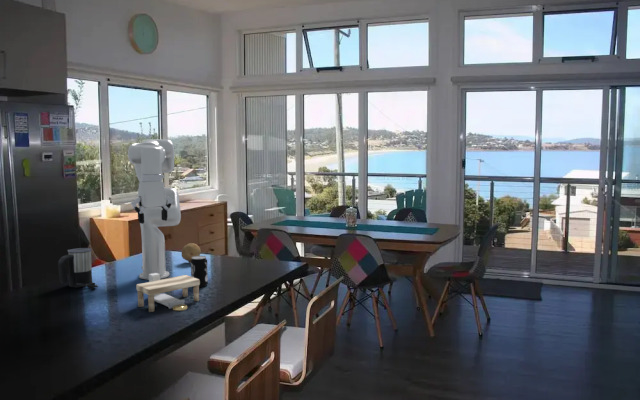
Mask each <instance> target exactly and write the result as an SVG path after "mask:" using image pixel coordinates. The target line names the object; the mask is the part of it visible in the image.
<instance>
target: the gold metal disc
mask: <svg viewBox="0 0 640 400" xmlns="http://www.w3.org/2000/svg"><path fill="white" fill-rule="evenodd" d="M185 310H188V305H187V304H178V305H174V306H173V308H172V311H175V312H182V311H185Z"/></svg>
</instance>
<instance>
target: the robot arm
mask: <svg viewBox="0 0 640 400" xmlns="http://www.w3.org/2000/svg"><path fill="white" fill-rule="evenodd" d="M127 150H128V151H127V158H128V161H129V162H130V164H132V165H134V170H135V175H136V177H137V180H138V183H139V184H138V190H137V197H136V199H135V200H132V201H131V202H130V205H131V207H132V208H133V210H134V211H135V212H136V213H137V221H138V223H139V226H140V232H141V251H142V252H141V253H142V255H141V257H142V265H141V269H142V272H141V273H140V274H139V276H138V277H139V279H142V280H148V281H149V274H153V273H158V274H160V280H162V279H167V278H169V276H170V272H169V271H167V270H166V243H165V241H166V240H165V235H164V233H163V232H162V230H160V229H159V227H161V228H162V227H174V226H178V225H179V224H180V223H181V220H182V219H181V218H182V215H181V214H182V213H181V204H180V196H179V192H178V190H177V189H176V188H174V187H165V183H164V181H163V179H165V174H169V173H172V172H173V171H174V169H175V147H174V143H173V142H172V140H170V139H164V138H163V139H157V138H156V139H154V138H153V139H146V140H143V141H142V142H138V143H132V144H130V145H129V147H128V149H127Z"/></svg>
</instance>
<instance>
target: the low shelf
mask: <svg viewBox="0 0 640 400" xmlns="http://www.w3.org/2000/svg"><path fill="white" fill-rule="evenodd" d="M199 285H200V280H199V279H196V278H194V277H191V275H187V274H183V275H177V276H173V277H166V278H162V279H160V280H157V281H152V282H149V281H148V282H142V283H137V284H135V286H136V288H135V289H136V291H137V307H138V308H142V307H145V302H144V301H145V300H144V297H145V296H144V294H145V295H147V300H148V301H147V303H148V308H147V309H148V313H154V312H156V311H155V301H154V295H155V294H160V293H161V294H165V293H168V292H172V291H177V290H182V297H183V298H185V297H186V298H187V297H188V295H189V288H192V287H193V288H192V289H193V290H192V291H193V301H194V302H199V301H200V288H199Z"/></svg>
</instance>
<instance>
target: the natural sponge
mask: <svg viewBox="0 0 640 400" xmlns="http://www.w3.org/2000/svg"><path fill="white" fill-rule="evenodd" d="M201 253H202V252H201V247H200V246H199V244H196V243H192V242H189V243H187V244H185V245H184V246H183V247H182V248H181V258H182V259H184V261H187V262H188V263H189V264H191V260H192V257H194V256H201Z"/></svg>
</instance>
